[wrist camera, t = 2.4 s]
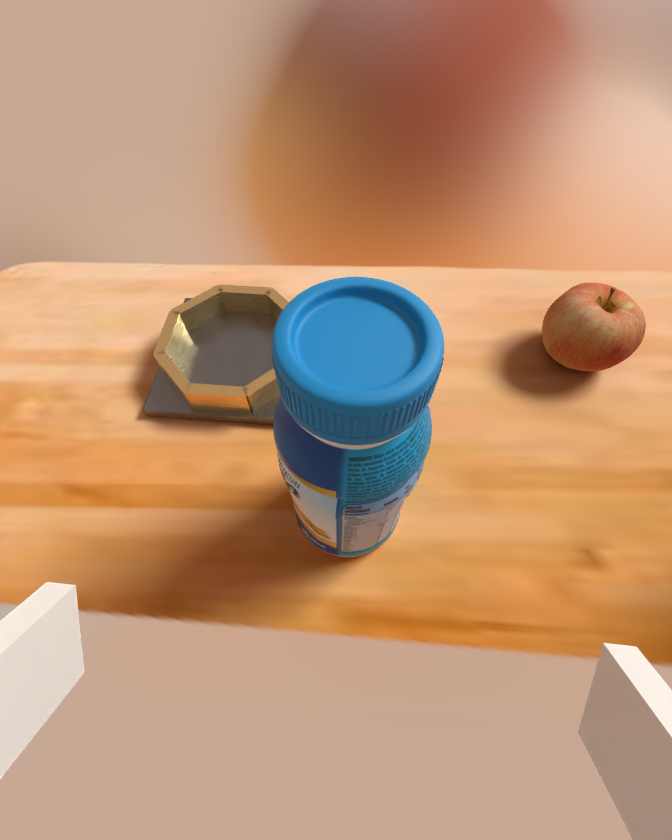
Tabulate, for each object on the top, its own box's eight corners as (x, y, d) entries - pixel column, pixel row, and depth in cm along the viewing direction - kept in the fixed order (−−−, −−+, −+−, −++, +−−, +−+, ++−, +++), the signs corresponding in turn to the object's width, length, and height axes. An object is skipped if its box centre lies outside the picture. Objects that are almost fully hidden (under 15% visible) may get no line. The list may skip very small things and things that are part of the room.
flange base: (317, 312, 44) (316, 286, 41) (301, 426, 36) (297, 405, 33) (188, 305, 44) (177, 278, 41) (147, 416, 37) (130, 394, 34)
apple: (515, 330, 42) (550, 265, 35) (587, 319, 43) (634, 253, 36) (550, 393, 38) (597, 334, 31) (628, 380, 39) (691, 319, 32)
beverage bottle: (392, 572, 30) (465, 451, 13) (281, 547, 31) (212, 404, 14) (406, 468, 34) (475, 273, 17) (308, 449, 35) (281, 247, 18)
